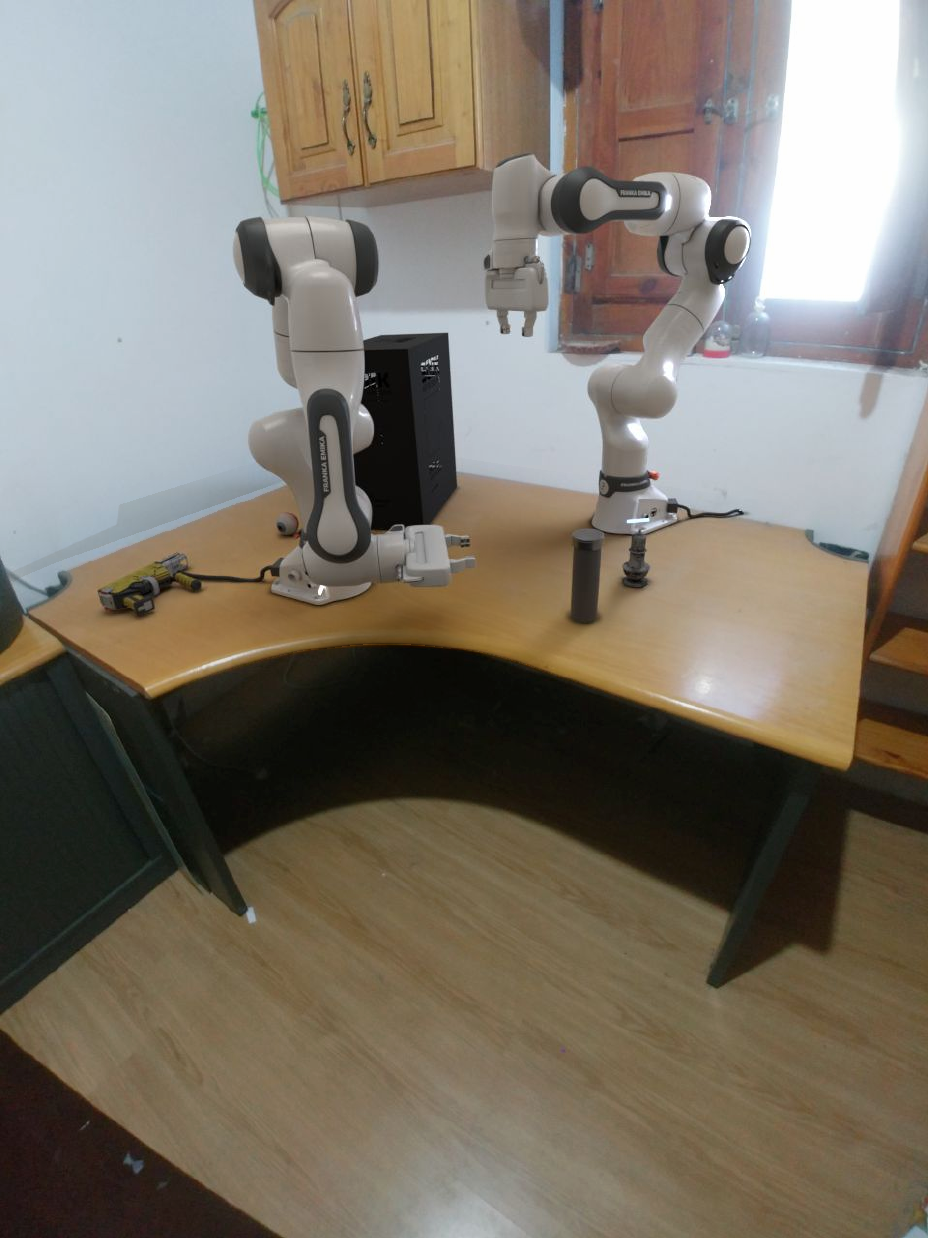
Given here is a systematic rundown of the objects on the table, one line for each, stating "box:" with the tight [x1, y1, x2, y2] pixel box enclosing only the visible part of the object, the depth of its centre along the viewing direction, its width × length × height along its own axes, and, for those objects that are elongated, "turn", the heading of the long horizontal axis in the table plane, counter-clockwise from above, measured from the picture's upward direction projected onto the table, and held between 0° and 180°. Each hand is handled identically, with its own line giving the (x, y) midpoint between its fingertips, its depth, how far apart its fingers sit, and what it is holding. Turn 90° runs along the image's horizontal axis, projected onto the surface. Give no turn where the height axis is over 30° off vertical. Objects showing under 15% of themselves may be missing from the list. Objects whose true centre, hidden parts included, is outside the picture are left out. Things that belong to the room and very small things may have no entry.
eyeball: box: [275, 511, 300, 536], centre depth 163 cm, size 6×6×6 cm
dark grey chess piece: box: [621, 529, 651, 588], centre depth 127 cm, size 6×6×12 cm
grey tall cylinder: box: [570, 546, 603, 624], centre depth 114 cm, size 5×5×17 cm
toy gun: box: [97, 551, 203, 617], centre depth 137 cm, size 5×24×15 cm
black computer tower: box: [353, 332, 458, 531], centre depth 169 cm, size 38×20×45 cm, turn 167°
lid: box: [571, 528, 605, 551], centre depth 110 cm, size 6×6×2 cm
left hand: (472, 550), depth 109 cm, fingers open, 8 cm apart
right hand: (516, 335), depth 125 cm, fingers open, 8 cm apart
